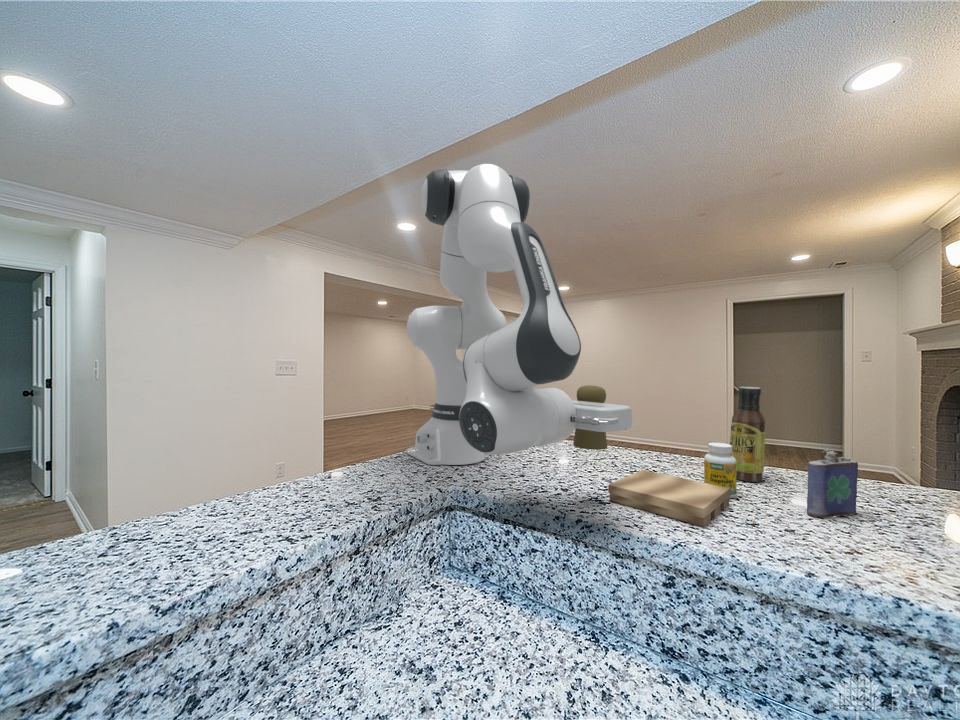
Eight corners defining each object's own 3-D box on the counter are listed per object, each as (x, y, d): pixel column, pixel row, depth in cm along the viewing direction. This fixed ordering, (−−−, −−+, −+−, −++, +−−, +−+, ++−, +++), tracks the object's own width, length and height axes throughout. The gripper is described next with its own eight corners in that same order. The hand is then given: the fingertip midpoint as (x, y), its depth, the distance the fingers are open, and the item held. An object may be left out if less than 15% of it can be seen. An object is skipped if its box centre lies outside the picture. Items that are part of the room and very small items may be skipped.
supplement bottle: (732, 491, 80) (733, 442, 80) (739, 500, 75) (740, 448, 75) (701, 488, 82) (702, 440, 82) (706, 497, 77) (706, 446, 77)
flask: (817, 519, 67) (818, 453, 67) (799, 512, 70) (800, 449, 69) (861, 515, 69) (862, 451, 68) (842, 508, 71) (843, 447, 71)
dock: (608, 501, 75) (608, 484, 75) (642, 484, 84) (642, 469, 84) (703, 528, 63) (703, 508, 63) (729, 504, 73) (730, 488, 73)
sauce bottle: (722, 476, 90) (723, 386, 89) (740, 473, 92) (741, 385, 92) (752, 485, 84) (754, 388, 84) (771, 481, 87) (772, 387, 86)
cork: (611, 450, 71) (612, 387, 71) (576, 449, 71) (578, 386, 71) (602, 443, 77) (603, 385, 77) (570, 442, 77) (571, 384, 77)
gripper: (606, 401, 58) (649, 395, 67) (502, 391, 73) (549, 387, 82) (606, 446, 58) (649, 433, 67) (501, 426, 73) (549, 419, 82)
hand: (593, 408), depth 75 cm, fingers closed on cork, 4 cm apart
